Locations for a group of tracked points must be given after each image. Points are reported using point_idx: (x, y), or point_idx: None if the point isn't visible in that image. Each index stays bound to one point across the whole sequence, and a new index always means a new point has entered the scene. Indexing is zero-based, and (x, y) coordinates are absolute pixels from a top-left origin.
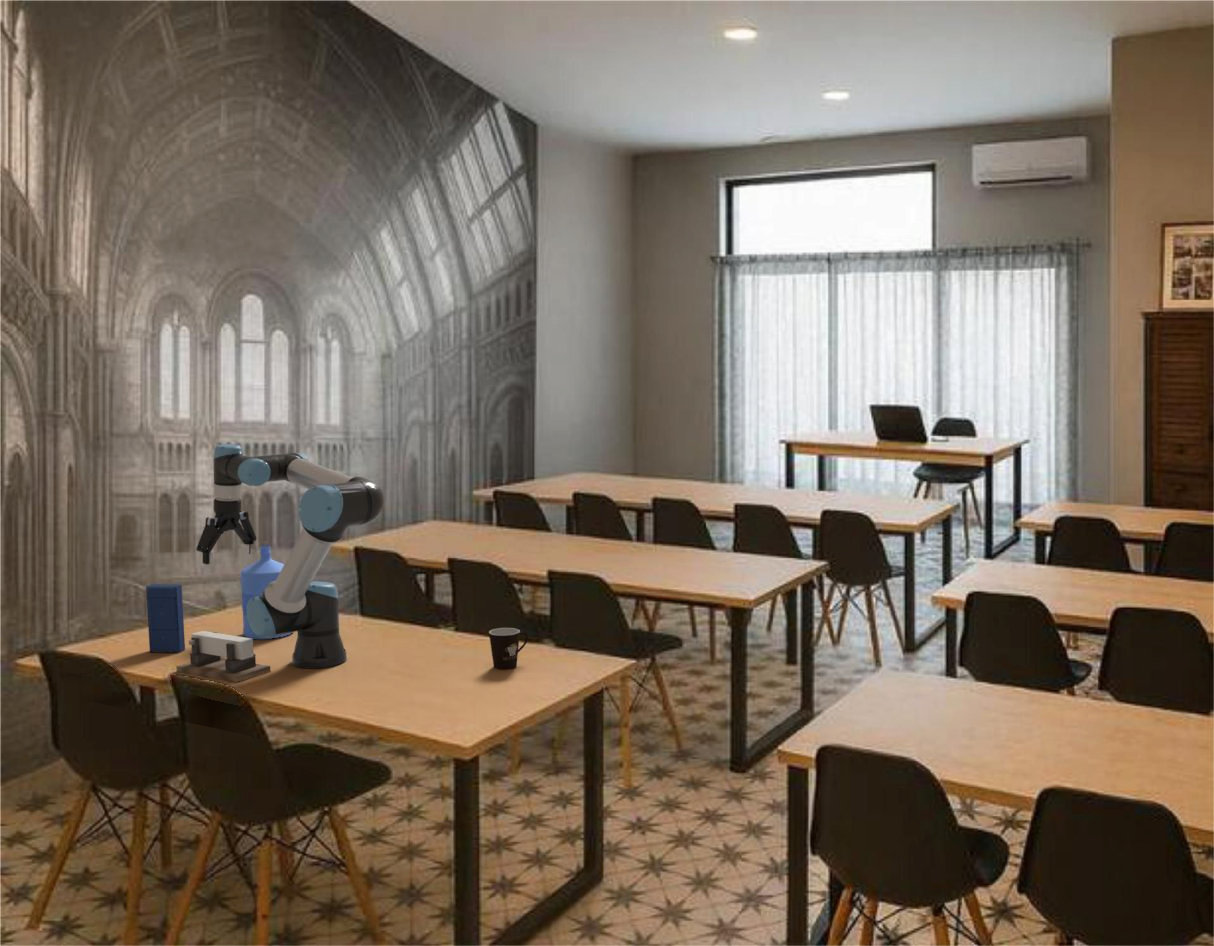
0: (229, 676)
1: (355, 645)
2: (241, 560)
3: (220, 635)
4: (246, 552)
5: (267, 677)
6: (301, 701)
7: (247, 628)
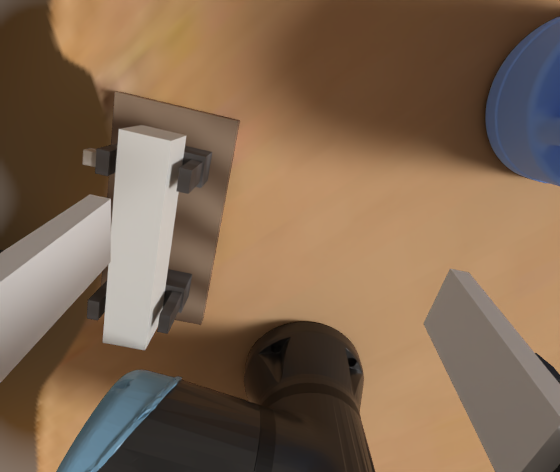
0: (102, 283)
1: (444, 375)
2: (462, 299)
3: (140, 241)
4: (472, 405)
5: (162, 334)
6: (63, 456)
7: (516, 66)
